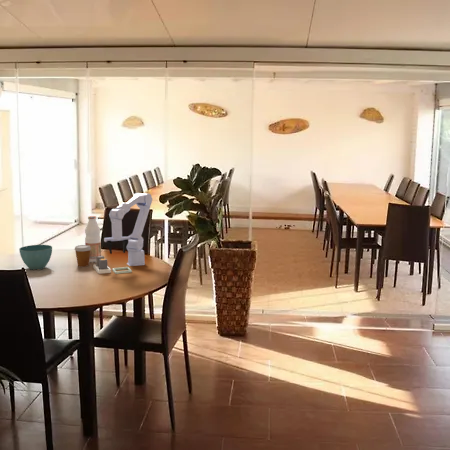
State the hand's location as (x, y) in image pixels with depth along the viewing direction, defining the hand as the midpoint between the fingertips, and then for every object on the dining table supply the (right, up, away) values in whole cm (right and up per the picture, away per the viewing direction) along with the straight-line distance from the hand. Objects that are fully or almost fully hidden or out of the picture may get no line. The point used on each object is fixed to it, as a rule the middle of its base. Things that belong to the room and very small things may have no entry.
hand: (117, 253), depth 326 cm
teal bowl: (-48, -9, +5) cm, 49 cm away
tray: (+3, -11, -3) cm, 12 cm away
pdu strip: (-9, -10, -1) cm, 13 cm away
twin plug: (-10, -9, +3) cm, 14 cm away
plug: (-7, -10, -5) cm, 13 cm away
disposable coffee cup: (-22, -8, +11) cm, 26 cm away
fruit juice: (-19, -6, +24) cm, 31 cm away
